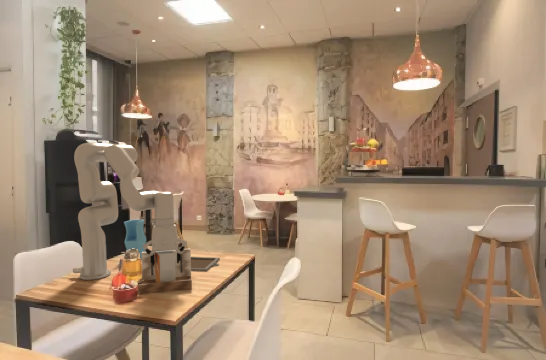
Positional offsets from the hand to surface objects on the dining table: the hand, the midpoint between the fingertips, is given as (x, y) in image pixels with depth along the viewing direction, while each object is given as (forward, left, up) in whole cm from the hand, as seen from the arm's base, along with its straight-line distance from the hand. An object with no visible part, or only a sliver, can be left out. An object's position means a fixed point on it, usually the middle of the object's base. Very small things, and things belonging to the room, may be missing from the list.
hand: (165, 263), depth 141 cm
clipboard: (+10, +28, -10) cm, 31 cm away
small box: (0, 0, -8) cm, 8 cm away
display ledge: (0, 0, -9) cm, 9 cm away
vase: (-18, +49, -10) cm, 53 cm away
